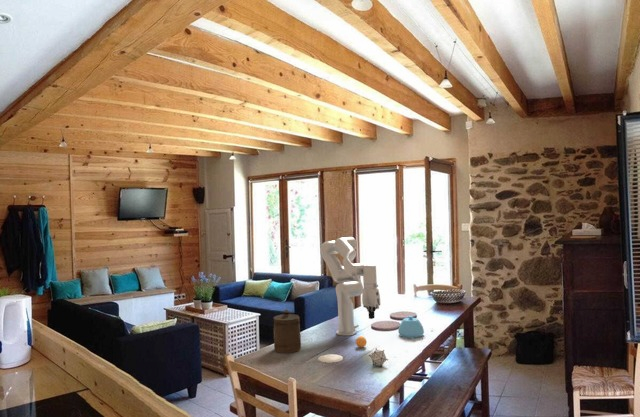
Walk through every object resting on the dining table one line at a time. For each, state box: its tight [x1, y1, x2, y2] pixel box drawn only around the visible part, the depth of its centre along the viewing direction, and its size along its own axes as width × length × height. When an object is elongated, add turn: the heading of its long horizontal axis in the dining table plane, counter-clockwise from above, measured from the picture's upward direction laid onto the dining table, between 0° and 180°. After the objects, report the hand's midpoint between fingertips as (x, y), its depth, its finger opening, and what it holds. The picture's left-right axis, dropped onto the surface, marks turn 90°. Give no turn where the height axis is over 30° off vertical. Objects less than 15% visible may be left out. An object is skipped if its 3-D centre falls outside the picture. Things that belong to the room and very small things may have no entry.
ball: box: [355, 336, 367, 348], centre depth 269 cm, size 6×6×6 cm
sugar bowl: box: [398, 315, 425, 339], centre depth 289 cm, size 15×15×12 cm
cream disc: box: [317, 353, 344, 364], centre depth 251 cm, size 13×13×1 cm
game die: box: [368, 348, 389, 368], centre depth 238 cm, size 9×8×10 cm
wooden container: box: [273, 309, 302, 354], centre depth 270 cm, size 15×15×22 cm
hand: (371, 318), depth 275 cm, fingers closed
